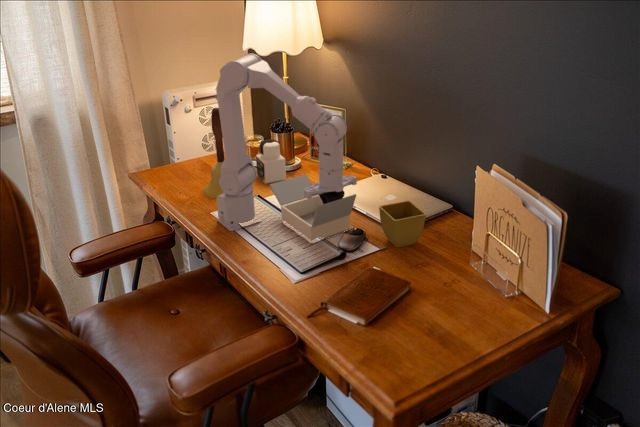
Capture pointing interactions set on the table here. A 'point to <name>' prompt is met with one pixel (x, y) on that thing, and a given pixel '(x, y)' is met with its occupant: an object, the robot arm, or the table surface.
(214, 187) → the handbell
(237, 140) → the robot arm
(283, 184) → the far flap
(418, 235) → the flower pot
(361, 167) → the table surface
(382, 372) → the table surface
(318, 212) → the near flap
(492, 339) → the table surface
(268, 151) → the medicine bottle
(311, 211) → the storage box
